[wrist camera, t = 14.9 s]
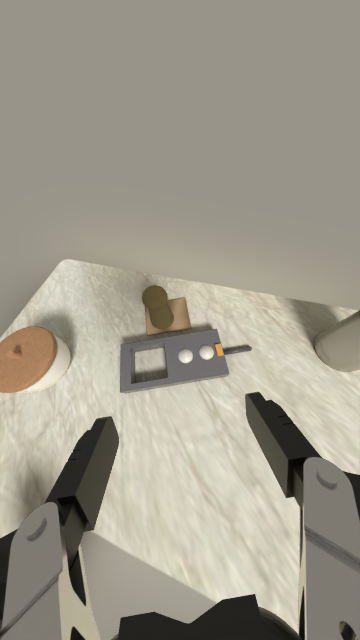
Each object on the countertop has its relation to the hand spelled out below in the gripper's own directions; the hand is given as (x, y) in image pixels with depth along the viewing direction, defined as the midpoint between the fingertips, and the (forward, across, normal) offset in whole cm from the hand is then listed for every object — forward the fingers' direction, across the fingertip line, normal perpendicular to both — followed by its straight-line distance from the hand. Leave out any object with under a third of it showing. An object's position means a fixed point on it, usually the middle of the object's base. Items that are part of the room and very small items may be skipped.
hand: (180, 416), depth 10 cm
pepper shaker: (+34, +3, +3) cm, 34 cm away
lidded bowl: (+29, +30, +9) cm, 43 cm away
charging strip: (+26, -2, +12) cm, 29 cm away
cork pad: (+34, +2, +3) cm, 35 cm away
